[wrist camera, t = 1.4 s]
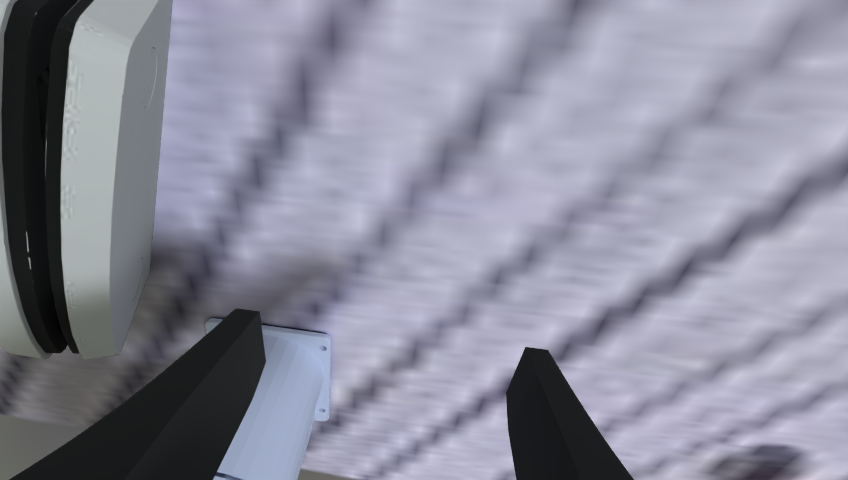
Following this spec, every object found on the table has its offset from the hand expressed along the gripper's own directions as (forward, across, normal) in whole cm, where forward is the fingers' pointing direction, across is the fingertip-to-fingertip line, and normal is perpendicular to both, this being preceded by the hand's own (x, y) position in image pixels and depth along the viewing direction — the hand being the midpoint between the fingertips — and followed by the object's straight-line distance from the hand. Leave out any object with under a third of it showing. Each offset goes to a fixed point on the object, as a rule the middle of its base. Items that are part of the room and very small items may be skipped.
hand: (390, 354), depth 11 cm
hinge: (+11, +14, 0) cm, 17 cm away
